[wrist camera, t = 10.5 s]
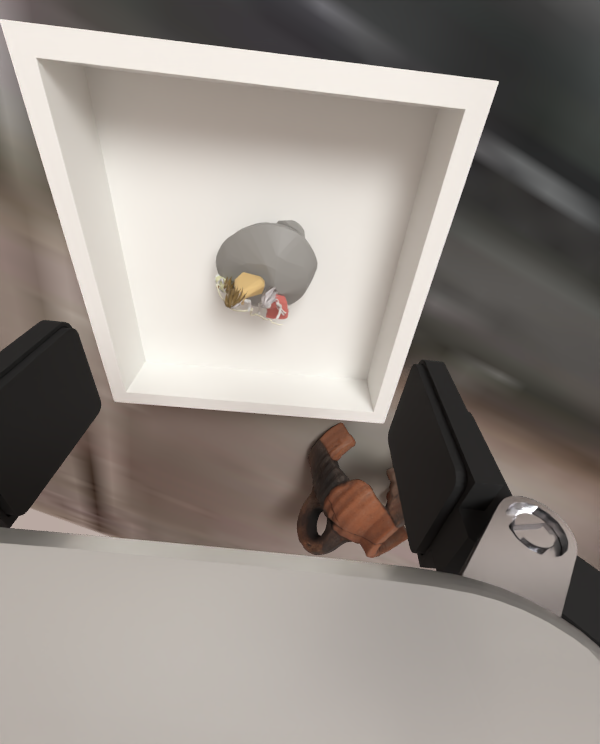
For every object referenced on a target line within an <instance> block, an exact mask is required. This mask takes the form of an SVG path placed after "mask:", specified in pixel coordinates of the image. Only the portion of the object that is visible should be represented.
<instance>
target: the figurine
mask: <svg viewBox="0 0 600 744" xmlns="http://www.w3.org/2000/svg"><path fill="white" fill-rule="evenodd" d="M317 264H318V263H317V259H316V256H315V253H314V251H313V249H312V248H311V246H310V244H309V243H308V241H307V240H306V239H305V232H304V229H303V228H302V227H301V225H300V224H299V223H297V222H295V221H293V220H282V221H280V220H279V221H278V222H277V223H267V222H265V223H256V224H253V225H250V226H247V227H244V228H242V229H241V230H239V231H237V232H236V233H235V234H233V235H231V236H230V237H228V238H227V239H226V240H225V241H224V242H223V244H222V245H221V247H220V249H219V251H218V253H217V256H216V268H217V271H218V274H217V275H216V276H215V283H216V288H217V290H218V293H219V296H220V297H221V299H222V300H223V301H225V302H224V304H225V306H226V307H228V308H230V309H231V310H233V311H238V312H247V311H251V312H250V315H251V316H254V315H257V316H258V317H261V318H262V319H264V320H270V321H271V323H273V324H277V323H274V322H272V321H273V320H274V319H276V320H278V319H286V318H287V317H288V312H289V311H288V310H290V308H289V305H291V304H293V303H295V302H296V301H298V300H299V299H300V298H301V297H302V296H303V295H304V293H305V292H306V290H307V288H308V287H309V285H310V283H311V281H312V279H313V277H314V275H315V272H316V270H317ZM219 290H220V291H221V292H222V293H226V297H225V299H223V298H222V296H221V294H220V291H219ZM227 294H228V295H227ZM244 302H245V303H247V304H248V308H247V310H235V309H234V308H236V307H237V306H241V305H244ZM251 305H252V306H256V307H258V312H257V314H256V313H255V314H253V315H252V311H253V308H251ZM261 308H267V313H266V317H267V318H271V319H273V320H271V319H265V318H263V317H262V316H260V311H261ZM277 325H283V324H277Z"/></svg>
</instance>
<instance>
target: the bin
mask: <svg viewBox="0 0 600 744" xmlns="http://www.w3.org/2000/svg"><path fill="white" fill-rule="evenodd" d="M0 23H1V26H2V29H3V33H4V36H5V39H6V43H7V46H8V49H9V53H10V56H11V59H12V63H13V66H14V69H15V73H16V76H17V79H18V83H19V86H20V89H21V93H22V96H23V99H24V103H25V106H26V109H27V113H28V116H29V119H30V123H31V126H32V129H33V133H34V136H35V139H36V143H37V146H38V149H39V152H40V156H41V159H42V162H43V166H44V169H45V172H46V176H47V179H48V182H49V186H50V189H51V192H52V196H53V199H54V202H55V206H56V209H57V212H58V216H59V219H60V222H61V226H62V229H63V232H64V236H65V239H66V242H67V246H68V249H69V252H70V256H71V259H72V262H73V266H74V269H75V272H76V276H77V279H78V282H79V286H80V289H81V292H82V296H83V299H84V302H85V306H86V309H87V312H88V316H89V319H90V322H91V326H92V329H93V332H94V336H95V339H96V342H97V345H98V349H99V352H100V355H101V359H102V362H103V365H104V369H105V372H106V375H107V379H108V382H109V385H110V389H111V392H112V395H113V399H114V402H124V403H136V404H148V405H161V406H173V407H186V408H198V409H211V410H223V411H236V412H248V413H261V414H273V415H286V416H298V417H310V418H323V419H335V420H348V421H360V422H373V423H384V422H385V419H386V416H387V413H388V410H389V407H390V404H391V401H392V398H393V395H394V392H395V389H396V386H397V383H398V380H399V377H400V374H401V371H402V368H403V365H404V362H405V359H406V357H407V354H408V351H409V348H410V345H411V342H412V339H413V336H414V333H415V330H416V327H417V324H418V321H419V318H420V315H421V312H422V309H423V306H424V303H425V300H426V297H427V294H428V291H429V288H430V285H431V282H432V279H433V276H434V273H435V270H436V267H437V264H438V261H439V258H440V255H441V252H442V249H443V246H444V244H445V241H446V238H447V235H448V232H449V229H450V226H451V223H452V220H453V217H454V214H455V211H456V208H457V205H458V202H459V199H460V196H461V193H462V190H463V187H464V184H465V181H466V178H467V175H468V172H469V169H470V166H471V163H472V160H473V157H474V154H475V151H476V148H477V145H478V142H479V139H480V136H481V133H482V131H483V128H484V125H485V122H486V119H487V116H488V113H489V110H490V107H491V104H492V101H493V98H494V95H495V92H496V89H497V86H498V83H499V81H492V80H484V79H476V78H468V77H460V76H452V75H444V74H436V73H428V72H420V71H412V70H404V69H396V68H388V67H380V66H372V65H364V64H356V63H348V62H340V61H332V60H324V59H316V58H307V57H299V56H291V55H283V54H275V53H267V52H259V51H251V50H243V49H235V48H227V47H219V46H211V45H203V44H195V43H187V42H179V41H171V40H163V39H155V38H147V37H139V36H131V35H123V34H115V33H107V32H99V31H91V30H83V29H75V28H66V27H58V26H50V25H42V24H34V23H26V22H18V21H10V20H2V19H0ZM279 220H280V221H282V220H293V221H295V222H297V223H299V224H300V225H301V227H302V228H303V229H304V232H305V239H306V240H307V241H308V243H309V244H310V246H311V248H312V249H313V251H314V253H315V256H316V259H317V263H318V264H317V270H316V272H315V275H314V277H313V279H312V281H311V283H310V285H309V287H308V288H307V290H306V292H305V293H304V295H303V296H302V297H301V298H300V299H299V300H298V301H296V302H295V303H293V304H291V305H289V308H290V310H288V311H289V312H288V317H287V318H286V319H278V320H276V319H274V320H273V319H271V318H267V317H266V313H267V308H261V311H260V316H262V317H263V318H265V319H271V320H273V321H272V322H274V323H277V324H283V325H277V324H273V323H271V321H270V320H264V319H262V318H261V317H258V316H257V315H254V316H251V315H250V312H251V311H247V312H238V311H233V310H231V309H230V308H228V307H226V306H225V304H224V302H225V301H223V300H222V299H221V297H220V296H219V293H218V290H217V288H216V283H215V276H216V275H217V274H218V271H217V268H216V256H217V253H218V251H219V249H220V247H221V245H222V244H223V242H224V241H225V240H226V239H227V238H228V237H230V236H231V235H233V234H235V233H236V232H237V231H239V230H241V229H242V228H244V227H247V226H250V225H253V224H256V223H265V222H267V223H277V222H278V221H279ZM219 291H220V290H219ZM220 294H221V296H222V298H223V299H225V297H226V293H222V292H221V291H220ZM227 295H228V294H227ZM247 308H248V304H247V303H245V302H244V305H241V306H237V307H236V308H234V309H235V310H247ZM251 308H253V311H252V315H253V314H255V313H256V314H257V312H258V307H256V306H252V305H251Z"/></svg>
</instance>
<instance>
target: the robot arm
mask: <svg viewBox="0 0 600 744" xmlns="http://www.w3.org/2000/svg"><path fill="white" fill-rule="evenodd" d="M100 408H101V400H100V397H99V394H98V391H97V388H96V385H95V382H94V379H93V376H92V373H91V370H90V367H89V364H88V361H87V358H86V355H85V352H84V349H83V346H82V343H81V340H80V337H79V334H78V332H77V331H76V330H75V329H73V328H72V327H71V325H70V324H69V323H66V322H58V321H49V320H43V321H41V322H39V323H37V324H36V325H35V326H34V327H32V328H31V329H30V330H28V331H27V332H26V333H24V334H23V335H22V336H20V337H19V338H18V339H16V340H15V341H14V342H12V343H11V344H10V345H9V346H7V347H6V348H5V349H3V350H2V351H1V352H0V744H600V571H598V570H597V569H595V568H594V567H593V566H591V565H590V564H588V563H587V562H585V561H584V560H583V559H581V558H580V557H578V556H577V543H576V540H575V538H574V535H573V533H572V531H571V530H570V529H569V527H568V526H567V524H566V523H565V522H564V521H563V520H562V519H561V518H560V517H559V516H558V515H557V514H556V513H555V512H554V511H552V510H551V509H550V508H548V507H547V506H545V505H544V504H542V503H540V502H538V501H536V500H534V499H530V498H527V497H523V496H512V494H511V492H510V490H509V488H508V486H507V484H506V482H505V480H504V478H503V476H502V474H501V472H500V470H499V468H498V466H497V464H496V462H495V460H494V458H493V456H492V454H491V452H490V450H489V448H488V446H487V444H486V442H485V440H484V438H483V436H482V434H481V432H480V430H479V428H478V426H477V424H476V422H475V420H474V418H473V416H472V415H471V413H470V412H468V411H467V409H466V407H465V405H464V403H463V401H462V399H461V396H460V394H459V392H458V390H457V388H456V386H455V384H454V382H453V380H452V378H451V376H450V374H449V372H448V370H447V368H446V366H445V364H444V363H443V362H439V361H430V360H421V361H420V362H419V364H414V365H413V366H412V368H411V370H410V373H409V376H408V379H407V381H406V384H405V387H404V390H403V393H402V395H401V398H400V401H399V404H398V407H397V410H396V412H395V415H394V418H393V421H392V424H391V426H390V429H389V434H388V443H389V448H390V453H391V458H392V463H393V468H394V472H395V477H396V482H397V487H398V492H399V497H400V502H401V507H402V512H403V517H404V522H405V526H406V531H407V536H408V541H409V546H410V549H411V551H412V552H413V553H417V555H418V559H419V564H420V567H425V568H436V571H432V570H426V569H420V568H413V567H404V566H396V565H387V564H378V563H370V562H361V561H352V560H344V559H334V558H323V557H313V556H303V555H293V554H283V553H273V552H262V551H252V550H242V549H232V548H221V547H211V546H200V545H190V544H179V543H168V542H158V541H147V540H136V539H125V538H114V537H104V536H93V535H81V534H70V533H59V532H48V531H35V530H25V529H14V528H10V527H11V526H12V524H13V523H14V522H15V520H16V519H17V518H18V516H20V515H23V514H25V512H27V511H28V509H29V508H30V507H31V506H32V504H33V503H34V501H35V500H36V499H37V497H38V496H39V495H40V493H41V492H42V490H43V489H44V488H45V486H46V485H47V484H48V482H49V481H50V479H51V478H52V477H53V475H54V474H55V473H56V471H57V470H58V468H59V467H60V466H61V464H62V463H63V462H64V460H65V459H66V457H67V456H68V455H69V453H70V452H71V451H72V449H73V448H74V446H75V445H76V444H77V442H78V441H79V440H80V438H81V437H82V435H83V434H84V433H85V431H86V430H87V429H88V427H89V426H90V424H91V423H92V422H93V420H94V419H95V418H96V416H97V415H98V413H99V411H100Z"/></svg>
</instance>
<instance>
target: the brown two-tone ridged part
mask: <svg viewBox="0 0 600 744" xmlns="http://www.w3.org/2000/svg"><path fill="white" fill-rule="evenodd" d="M353 446H355V440H354V438H353V437H352V436H351V435H350V434H349V433H348V431H347V429H346V427H345V426H344V424H343V423H339V424H337V425H336V426H334V427H332V428H331V429H330V430H329V431H327V432H326V433H325V434H324V435H323V436H322V437H321V438H320V439H319V440H318V441H317V442H316V444H315V445H314V446H313V447H312V449H311V451H310V453H309V456H308V459H309V464H310V467H311V474H312V479H313V489H312V492H311V494H310V496H309V497H308V498H307V500H306V501H305V503H304V504H303V506H302V508H301V511H300V513H299V516H298V521H297V533H298V537H299V541H300V543H301V544H302V545H303V547H304V548H305V550H307V551H308V552H309V553H311V554H314V555H322V554H327V553H330V552H332V551H334V550H335V549H337V548H338V547H339V546H341V545H342V544H344V543H346V542H352V541H353V542H355V543H357V544H359V543H360V544H361V546H362V548H363V549H364V551H365V553H366V556H367V557H370V558H373V557H377V556H380V555H381V554H383V553H385V552H387V551H389V550H391V549H392V548H394V547H396V546H397V545H399V544H400V543H402V542H403V541H405V540H406V539H408V536H407V531H406V528H405V526H404V525H405V522H404V517H403V512H402V507H401V502H400V497H399V492H398V487H397V482H396V477H395V472H394V468H390V469H388V470H387V476H388V478H389V480H390V482H391V483H390V490H389V492H388V493H387V496H386V497H387V504H386V506H383V505H382V504H381V502H380V501H379V500H378V498H377V497H376V495H375V494H374V492H373V490H372V488H371V486H370V485H368V484H366V483H365V482H364V481H362V480H359V479H355V480H351V481H350V480H349V479H348V477H347V476H346V475H345V474H344V473H343V471H342V470H341V469H340V468H339V465H338V462H337V461H338V460H339V459H340V458H341V456H342V455H343V454H345V453H346V452H347V451H348V450H349V449H350V448H352V447H353ZM322 511H323V512H324V514H325V516H326V517H327V525H326V529H325V531H324V533H323V534H322V536H320V535H319V534H318V532H317V520H318V517H319V515H320V513H321V512H322Z"/></svg>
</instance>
